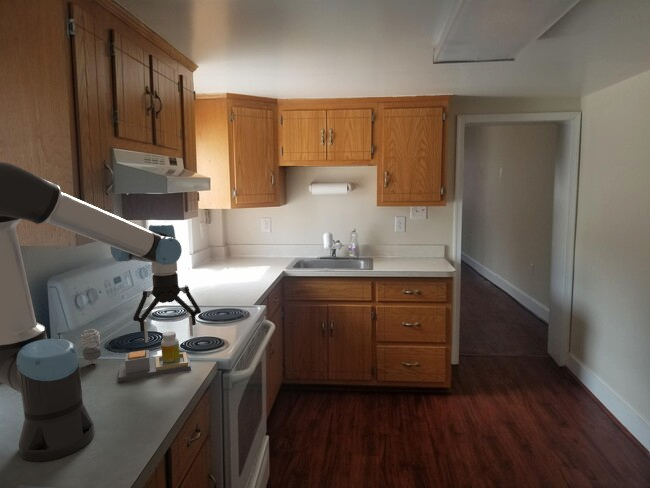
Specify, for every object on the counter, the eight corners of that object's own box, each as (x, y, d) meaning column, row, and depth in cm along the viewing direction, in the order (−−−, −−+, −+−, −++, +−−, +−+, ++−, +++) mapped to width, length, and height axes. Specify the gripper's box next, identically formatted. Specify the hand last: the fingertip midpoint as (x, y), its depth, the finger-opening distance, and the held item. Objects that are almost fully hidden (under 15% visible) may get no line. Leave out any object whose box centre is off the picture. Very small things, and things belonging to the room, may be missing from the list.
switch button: (130, 368, 140) (129, 357, 140) (130, 362, 144) (129, 352, 144) (145, 365, 142) (145, 355, 141) (146, 360, 146) (145, 350, 145)
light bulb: (106, 360, 153) (102, 326, 151) (96, 367, 147) (92, 332, 146) (90, 360, 153) (86, 326, 152) (79, 367, 148) (76, 332, 146)
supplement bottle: (177, 365, 144) (174, 336, 142) (160, 365, 144) (157, 336, 143) (182, 358, 149) (180, 330, 148) (166, 359, 149) (163, 330, 148)
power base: (118, 382, 136) (117, 364, 136) (120, 368, 147) (119, 352, 146) (191, 370, 144) (189, 353, 143) (188, 357, 154) (187, 342, 153)
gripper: (204, 267, 150) (208, 329, 153) (122, 274, 141) (127, 339, 144) (206, 271, 143) (210, 336, 146) (120, 279, 134) (126, 347, 138)
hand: (169, 338), depth 145 cm, fingers open, 13 cm apart
